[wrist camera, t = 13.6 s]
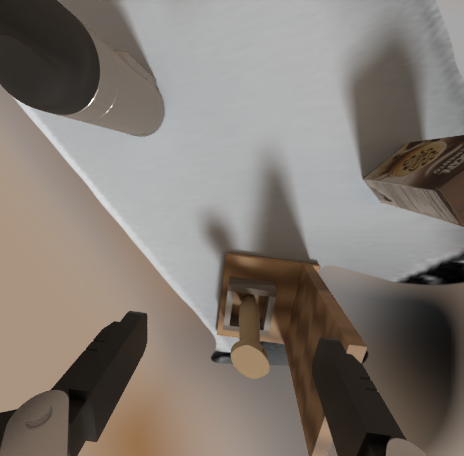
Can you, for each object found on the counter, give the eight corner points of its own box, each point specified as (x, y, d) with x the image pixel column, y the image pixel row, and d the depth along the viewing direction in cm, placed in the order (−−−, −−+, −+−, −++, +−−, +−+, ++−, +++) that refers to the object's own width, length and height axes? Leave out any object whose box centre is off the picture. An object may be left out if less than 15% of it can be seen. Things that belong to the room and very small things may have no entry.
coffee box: (406, 140, 36) (525, 122, 21) (427, 169, 38) (555, 171, 22) (360, 178, 39) (437, 187, 23) (381, 204, 40) (468, 229, 24)
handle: (247, 316, 47) (249, 383, 33) (230, 295, 46) (224, 354, 31) (266, 306, 46) (276, 370, 32) (249, 284, 45) (251, 340, 30)
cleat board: (226, 252, 44) (210, 325, 24) (318, 264, 44) (381, 348, 24) (217, 331, 50) (198, 443, 30) (299, 342, 49) (335, 464, 29)
